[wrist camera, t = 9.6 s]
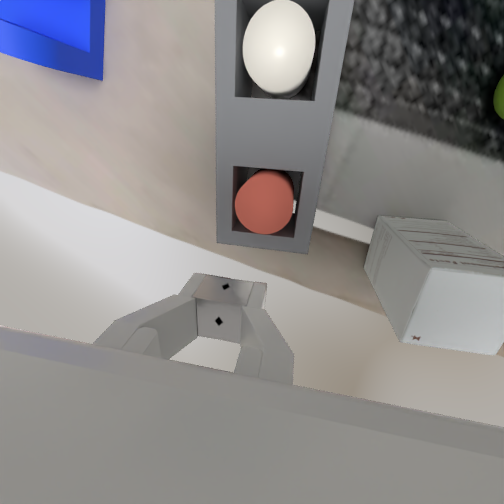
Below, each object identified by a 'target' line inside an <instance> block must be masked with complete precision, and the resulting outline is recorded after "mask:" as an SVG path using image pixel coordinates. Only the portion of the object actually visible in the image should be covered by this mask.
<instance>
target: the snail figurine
mask: <svg viewBox="0 0 504 504" xmlns="http://www.w3.org/2000/svg"><path fill="white" fill-rule="evenodd" d="M493 103H494V108H495V110H496V112H497V114H498V115H499V116H500V117H501V118H502V119H504V75H503V76H502V78H501V79H500V81H499V83H498V85H497V87H496V89H495V93H494V99H493Z"/></svg>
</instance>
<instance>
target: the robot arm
mask: <svg viewBox="0 0 504 504" xmlns="http://www.w3.org/2000/svg"><path fill="white" fill-rule="evenodd" d="M266 291H267V283H261V282H250V281H243V280H235V279H230V278H225V277H218V276H213V275H207V274H201V273H194V274H193V275H192V277H191V278H190V279H189V281H188V282H187V283H186V285H185V286H184V288H183V289H182V290H181V292H180V293H179V294H178V295H172V296H170V297H168V298H165V299H163V300H161V301H159V302H156V303H154V304H152V305H149V306H147V307H145V308H142V309H140V310H138V311H136V312H133V313H131V314H129V315H126V316H124V317H122V318H120V319H117V320H115V321H114V322H113V323H112V324H111V325H110V326H109V327H108V328H107V329H106V331H104V332H103V333H102V335H101V336H100V337H99V338H98V339H97V340H96V341H95V342H94V343H93V344H90V343H85V342H80V341H75V340H70V339H65V338H59V337H55V336H50V335H45V334H40V333H35V332H30V331H25V330H20V329H15V328H10V327H6V326H1V325H0V504H504V427H500V426H495V425H490V424H485V423H480V422H475V421H470V420H465V419H460V418H455V417H450V416H445V415H441V414H436V413H431V412H426V411H421V410H416V409H410V408H406V407H401V406H396V405H391V404H386V403H381V402H376V401H371V400H366V399H362V398H357V397H352V396H347V395H342V394H336V393H332V392H327V391H321V390H316V389H312V388H307V387H301V386H297V385H293V368H294V353H293V352H292V350H291V349H290V347H289V346H288V344H287V343H286V342H285V340H284V338H283V336H282V335H281V333H280V332H279V330H278V329H277V327H276V326H275V324H274V323H273V321H272V320H271V318H270V316H269V315H268V313H267V312H266V310H265V300H266ZM197 336H201V337H207V338H214V339H220V340H225V341H229V342H234V343H239V344H240V346H241V350H240V353H239V357H238V360H237V364H236V367H235V370H234V373H233V372H228V371H223V370H218V369H213V368H209V367H204V366H199V365H193V364H188V363H183V362H179V361H174V360H169V359H170V358H171V357H172V356H174V355H175V354H176V353H177V352H179V351H180V350H181V349H183V348H184V347H185V346H187V345H188V344H189V343H191V342H192V341H193V340H195V339H196V338H197Z"/></svg>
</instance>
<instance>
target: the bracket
mask: <svg viewBox="0 0 504 504" xmlns="http://www.w3.org/2000/svg"><path fill="white" fill-rule="evenodd" d="M104 25H105V0H1V1H0V52H1V53H4V54H7V55H10V56H13V57H16V58H19V59H22V60H25V61H28V62H32V63H35V64H38V65H42V66H45V67H49V68H52V69H56V70H60V71H64V72H68V73H73V74H77V75H81V76H85V77H89V78H93V79H98V80H102V81H103V55H104Z"/></svg>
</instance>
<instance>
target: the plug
mask: <svg viewBox="0 0 504 504" xmlns="http://www.w3.org/2000/svg"><path fill="white" fill-rule="evenodd" d="M314 51H315V32H314V28H313V24H312V22H311V19H310V17H309V15H308V14H307V13H306V11H305V10H304V9H303V8H302V7H301V6H300V5H298V4H297V3H295V2H293V1H290V0H274V1H271V2H269V3H267V4H265V5H264V6H262V7H261V8H260V9H259V10H258V11H257V12H256V13H255V14H254V16H253V17H252V18H251V20H250V22H249V24H248V26H247V29H246V31H245V35H244V40H243V59H244V63H245V66H246V69H247V71H248V73H249V75H250V77H251V78H252V79H253V80H254V82H255V83H256V84H257V85H258V86H259V87H260V88H261V89H262V90H263V91H264V92H265V93H266V94H267V95H268V96H270V97H272V98H274V99H288V98H291V97H293V96H295V95H296V94H297V93H298V92H300V90H301V89H302V88H303V87H304V85H305V84H306V82H307V79H308V77H309V73H310V69H311V65H312V60H313V56H314Z"/></svg>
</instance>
